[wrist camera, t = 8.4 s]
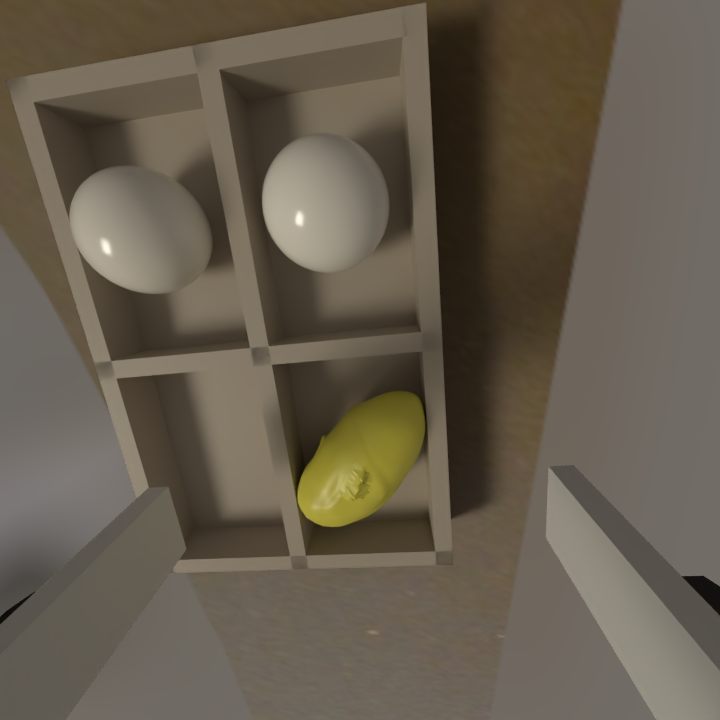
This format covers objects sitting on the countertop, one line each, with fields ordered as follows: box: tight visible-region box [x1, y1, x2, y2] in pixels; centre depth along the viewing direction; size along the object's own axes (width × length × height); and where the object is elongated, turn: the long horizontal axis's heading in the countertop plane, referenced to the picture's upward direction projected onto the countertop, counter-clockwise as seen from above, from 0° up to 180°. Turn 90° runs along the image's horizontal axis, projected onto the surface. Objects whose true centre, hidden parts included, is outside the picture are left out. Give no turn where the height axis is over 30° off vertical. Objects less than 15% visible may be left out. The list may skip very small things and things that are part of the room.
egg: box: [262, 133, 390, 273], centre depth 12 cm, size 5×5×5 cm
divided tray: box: [6, 3, 453, 573], centre depth 15 cm, size 22×15×3 cm
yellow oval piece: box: [297, 391, 425, 527], centre depth 15 cm, size 4×8×4 cm, turn 139°
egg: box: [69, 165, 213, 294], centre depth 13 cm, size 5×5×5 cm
